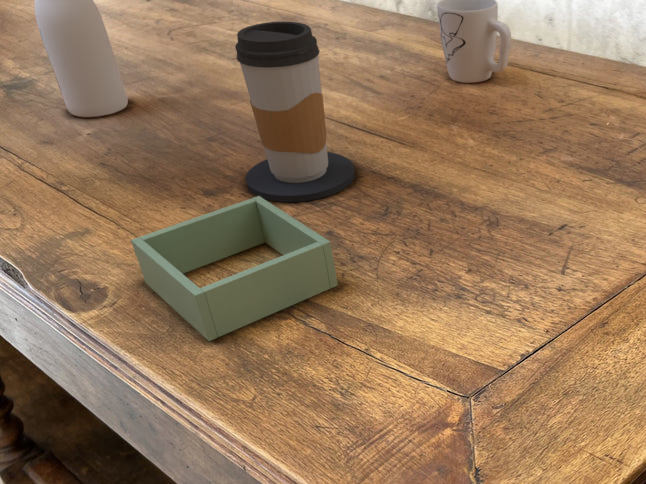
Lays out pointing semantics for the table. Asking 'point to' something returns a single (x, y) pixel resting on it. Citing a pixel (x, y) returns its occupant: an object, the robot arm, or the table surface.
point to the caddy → (242, 288)
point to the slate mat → (328, 184)
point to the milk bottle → (81, 56)
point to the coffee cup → (286, 97)
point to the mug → (472, 39)
